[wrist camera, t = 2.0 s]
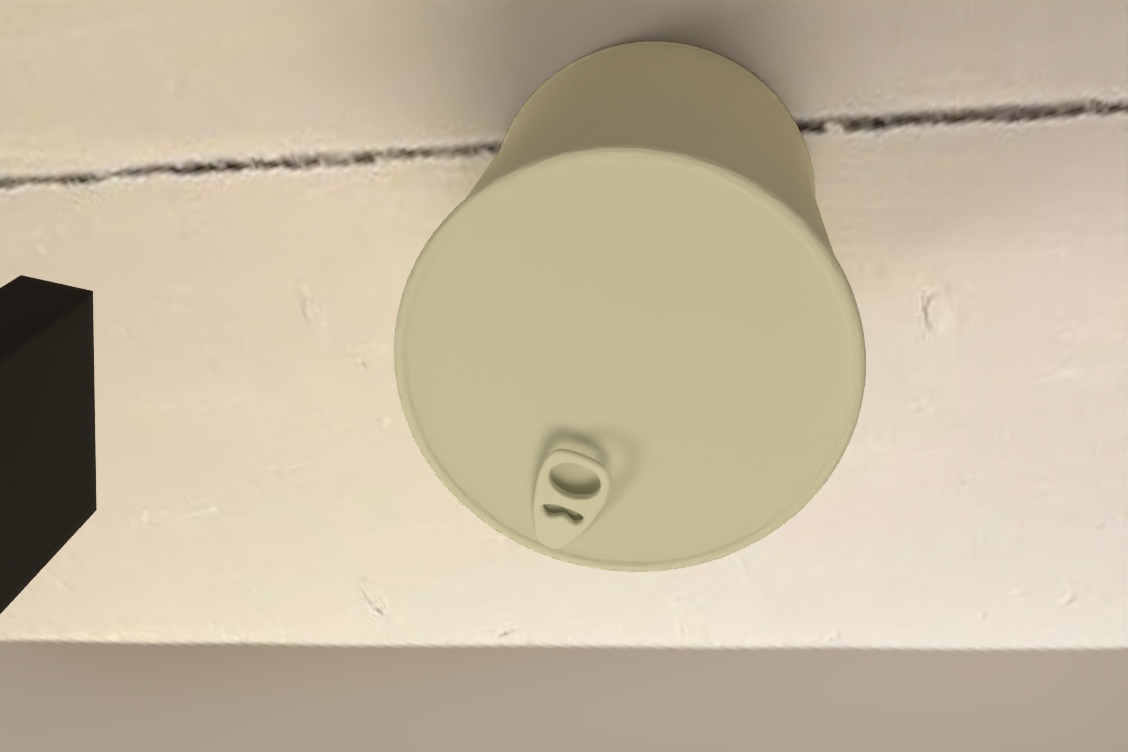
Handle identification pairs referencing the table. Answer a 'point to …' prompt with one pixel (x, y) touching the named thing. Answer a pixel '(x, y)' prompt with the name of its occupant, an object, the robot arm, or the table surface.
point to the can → (635, 319)
